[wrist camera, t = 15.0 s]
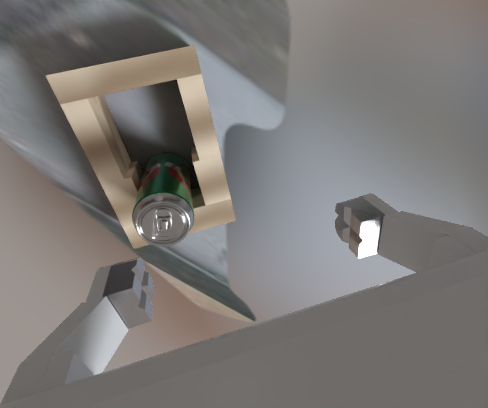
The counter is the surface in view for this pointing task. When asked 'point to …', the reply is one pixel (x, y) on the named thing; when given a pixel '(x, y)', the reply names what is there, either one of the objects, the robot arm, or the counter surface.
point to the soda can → (164, 201)
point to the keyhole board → (111, 145)
